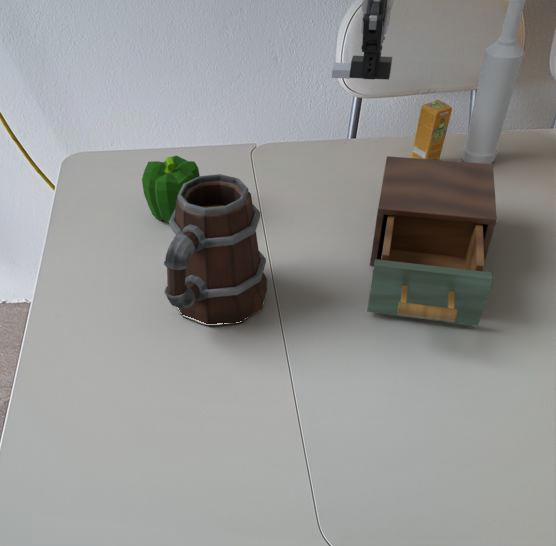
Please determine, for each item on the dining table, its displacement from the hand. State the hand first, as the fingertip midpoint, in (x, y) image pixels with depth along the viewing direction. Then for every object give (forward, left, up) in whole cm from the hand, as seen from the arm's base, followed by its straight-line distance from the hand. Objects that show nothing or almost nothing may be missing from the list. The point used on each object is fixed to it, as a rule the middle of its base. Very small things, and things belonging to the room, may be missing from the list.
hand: (370, 73), depth 94 cm
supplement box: (-10, -1, -14) cm, 18 cm away
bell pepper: (+25, +20, -14) cm, 35 cm away
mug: (+14, +39, -14) cm, 44 cm away
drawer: (-11, +33, -13) cm, 38 cm away
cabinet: (-11, +20, -14) cm, 27 cm away
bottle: (-18, -5, -14) cm, 24 cm away
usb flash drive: (+1, 0, 0) cm, 1 cm away
